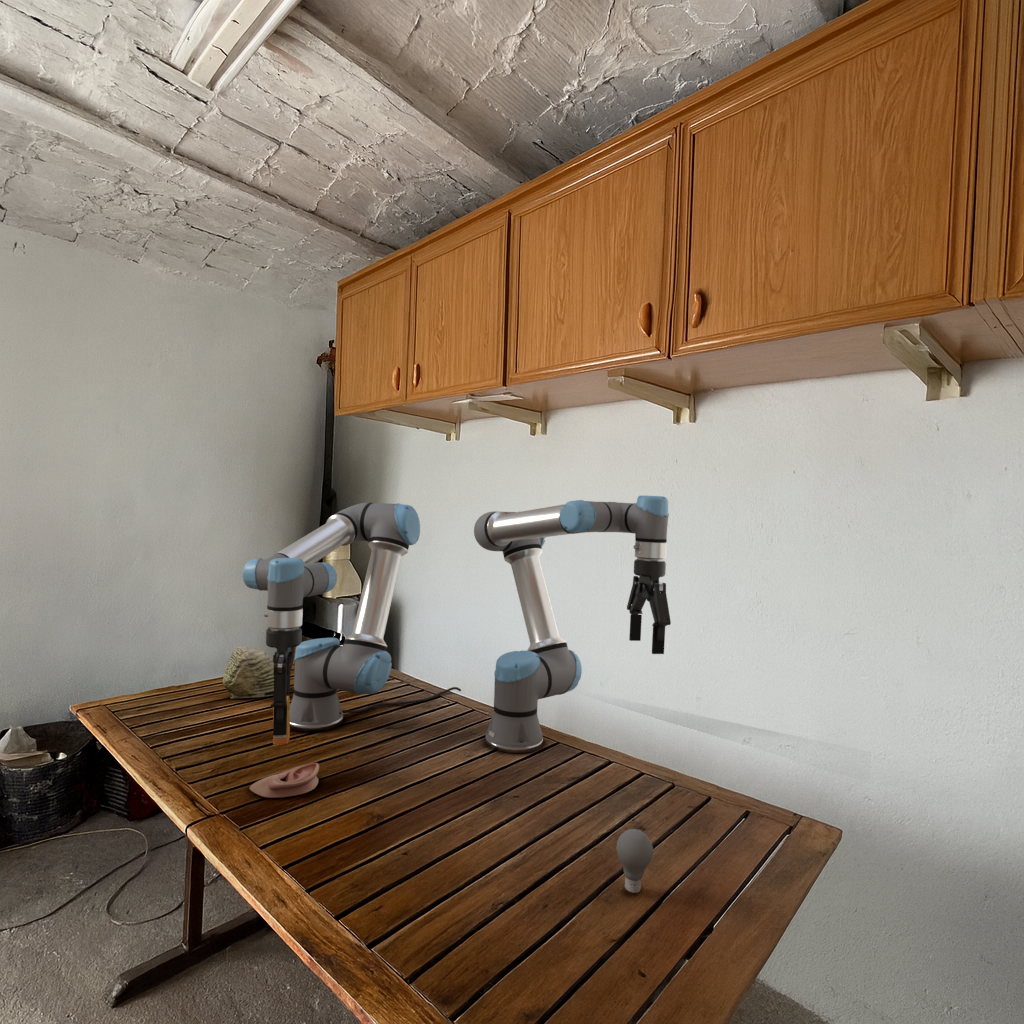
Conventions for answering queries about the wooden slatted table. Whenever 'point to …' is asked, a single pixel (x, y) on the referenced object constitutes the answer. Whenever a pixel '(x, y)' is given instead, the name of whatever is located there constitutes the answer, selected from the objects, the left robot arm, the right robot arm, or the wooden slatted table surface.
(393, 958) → the wooden slatted table surface
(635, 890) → the light bulb
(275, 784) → the anatomical model
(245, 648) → the fossil
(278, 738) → the supplement box
